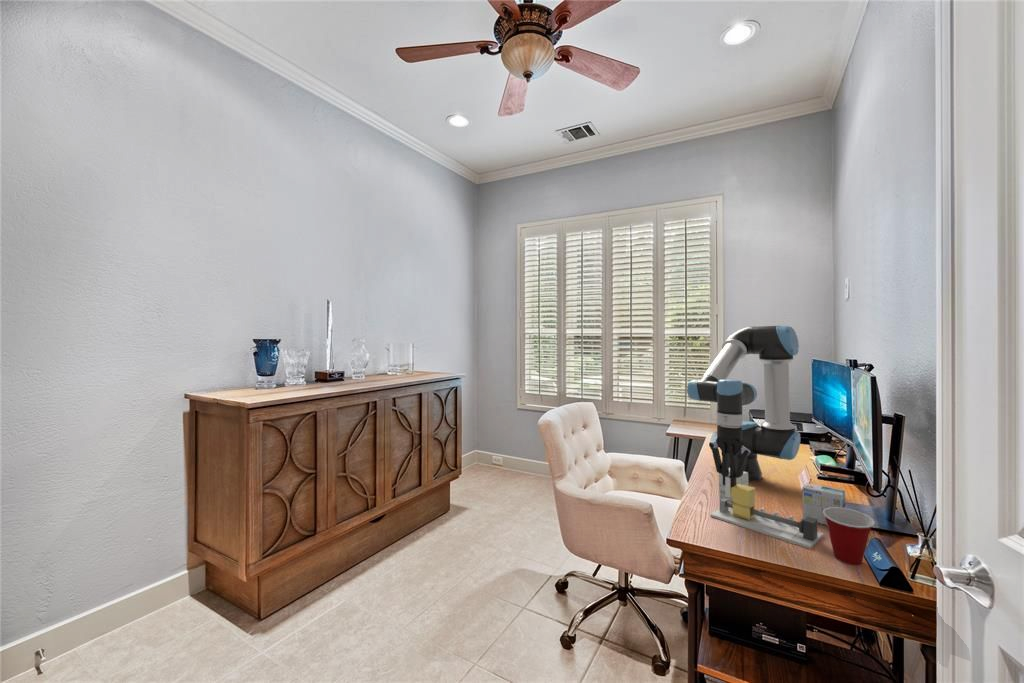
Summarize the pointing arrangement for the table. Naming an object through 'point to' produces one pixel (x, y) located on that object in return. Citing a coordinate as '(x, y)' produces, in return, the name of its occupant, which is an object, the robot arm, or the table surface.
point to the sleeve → (743, 501)
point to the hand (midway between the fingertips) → (729, 495)
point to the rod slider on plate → (773, 525)
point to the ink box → (741, 480)
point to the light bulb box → (821, 501)
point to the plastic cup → (848, 533)
